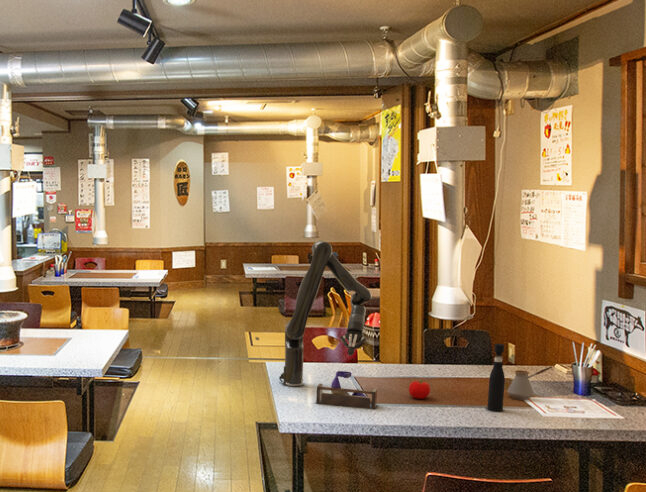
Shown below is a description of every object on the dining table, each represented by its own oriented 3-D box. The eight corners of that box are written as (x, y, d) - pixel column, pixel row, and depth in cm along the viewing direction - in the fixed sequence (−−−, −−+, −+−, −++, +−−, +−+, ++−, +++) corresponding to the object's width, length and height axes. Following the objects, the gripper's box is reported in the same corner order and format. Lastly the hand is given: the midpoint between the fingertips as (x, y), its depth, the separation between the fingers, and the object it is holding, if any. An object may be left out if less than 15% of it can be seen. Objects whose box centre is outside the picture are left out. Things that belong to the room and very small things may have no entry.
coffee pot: (515, 401, 354) (517, 370, 351) (502, 395, 365) (504, 365, 362) (557, 400, 356) (560, 369, 354) (543, 393, 367) (545, 363, 365)
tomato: (404, 397, 361) (405, 380, 360) (417, 394, 367) (418, 377, 366) (421, 401, 354) (422, 384, 353) (434, 398, 360) (435, 381, 359)
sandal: (374, 404, 350) (376, 373, 347) (331, 404, 350) (332, 373, 347) (370, 399, 358) (371, 369, 355) (328, 399, 358) (329, 369, 355)
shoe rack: (316, 403, 352) (316, 386, 351) (319, 399, 358) (319, 383, 357) (374, 409, 342) (375, 392, 341) (376, 405, 349) (377, 388, 347)
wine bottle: (484, 407, 343) (488, 343, 338) (498, 407, 344) (502, 343, 339) (491, 411, 337) (496, 346, 332) (505, 411, 338) (510, 345, 333)
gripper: (341, 319, 371) (335, 349, 363) (369, 321, 366) (363, 352, 358) (343, 327, 377) (337, 357, 369) (370, 329, 372) (364, 360, 364)
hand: (350, 354), depth 363 cm, fingers closed
